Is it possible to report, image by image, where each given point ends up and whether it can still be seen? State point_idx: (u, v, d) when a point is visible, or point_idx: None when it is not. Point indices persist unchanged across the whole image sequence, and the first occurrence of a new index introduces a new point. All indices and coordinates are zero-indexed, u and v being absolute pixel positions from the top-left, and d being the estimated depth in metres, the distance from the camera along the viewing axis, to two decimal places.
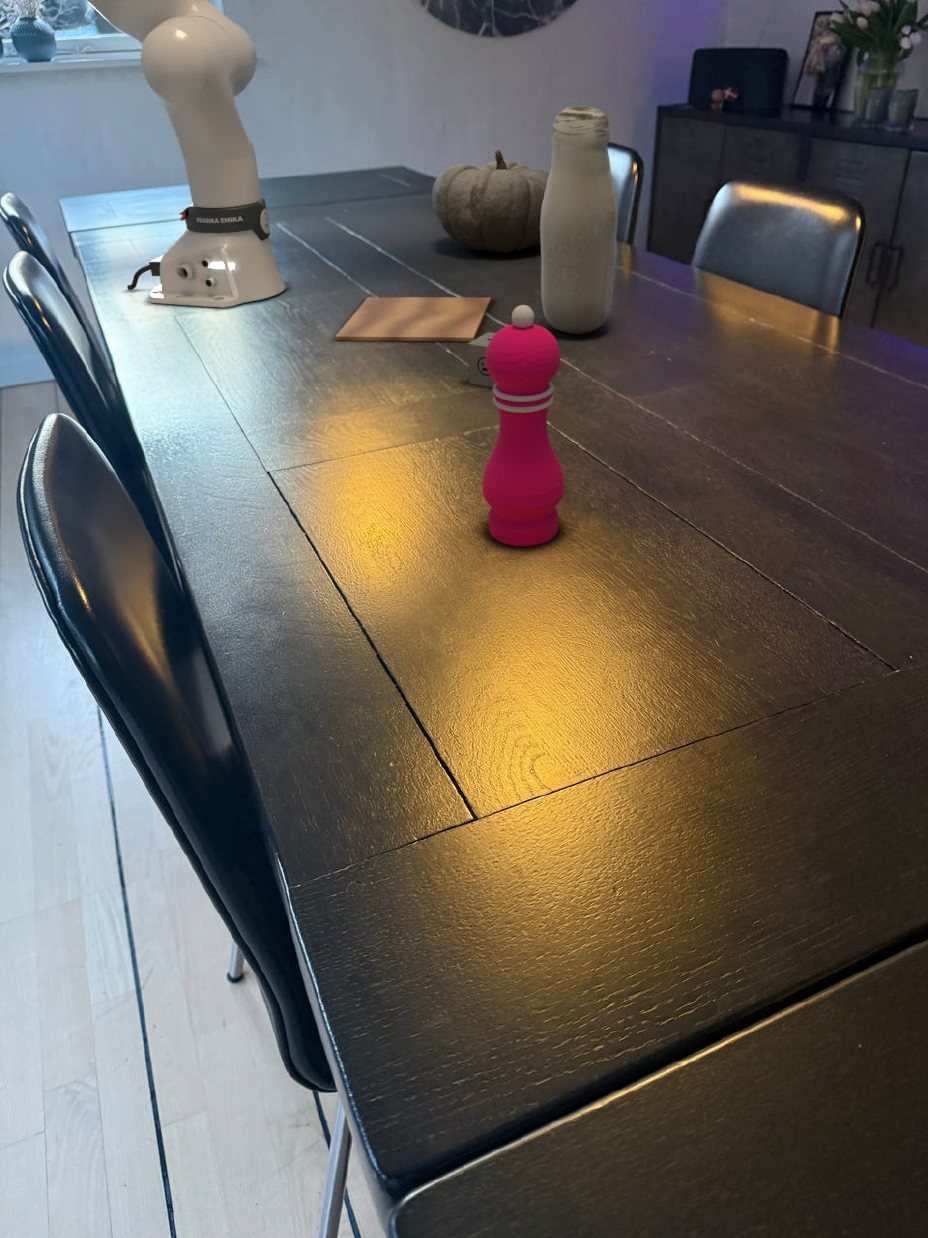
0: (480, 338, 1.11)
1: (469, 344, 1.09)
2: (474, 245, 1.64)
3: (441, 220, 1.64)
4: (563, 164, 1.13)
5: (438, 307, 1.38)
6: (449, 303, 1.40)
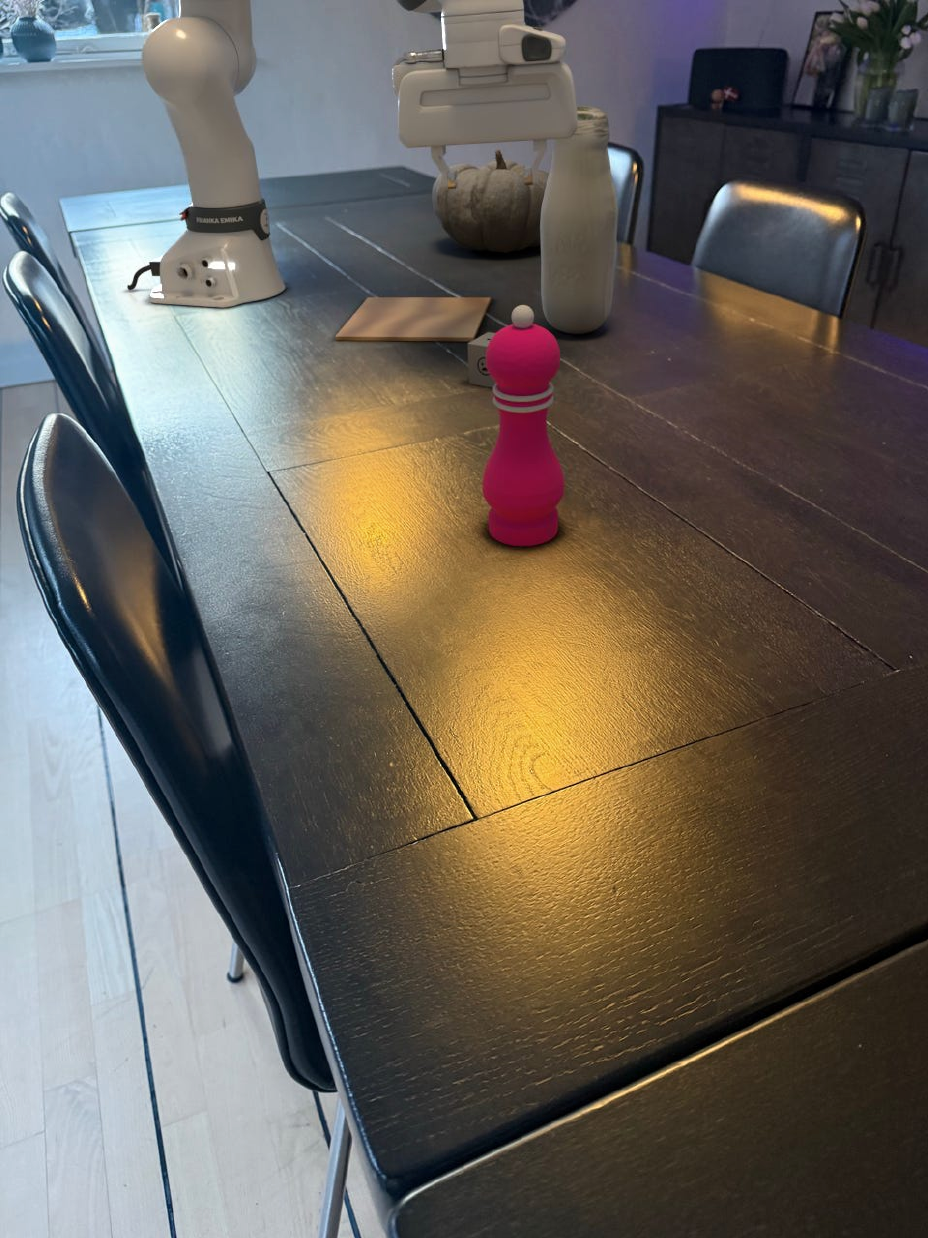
0: (480, 338, 1.11)
1: (469, 344, 1.09)
2: (474, 245, 1.64)
3: (441, 220, 1.64)
4: (563, 164, 1.13)
5: (438, 307, 1.38)
6: (449, 303, 1.40)
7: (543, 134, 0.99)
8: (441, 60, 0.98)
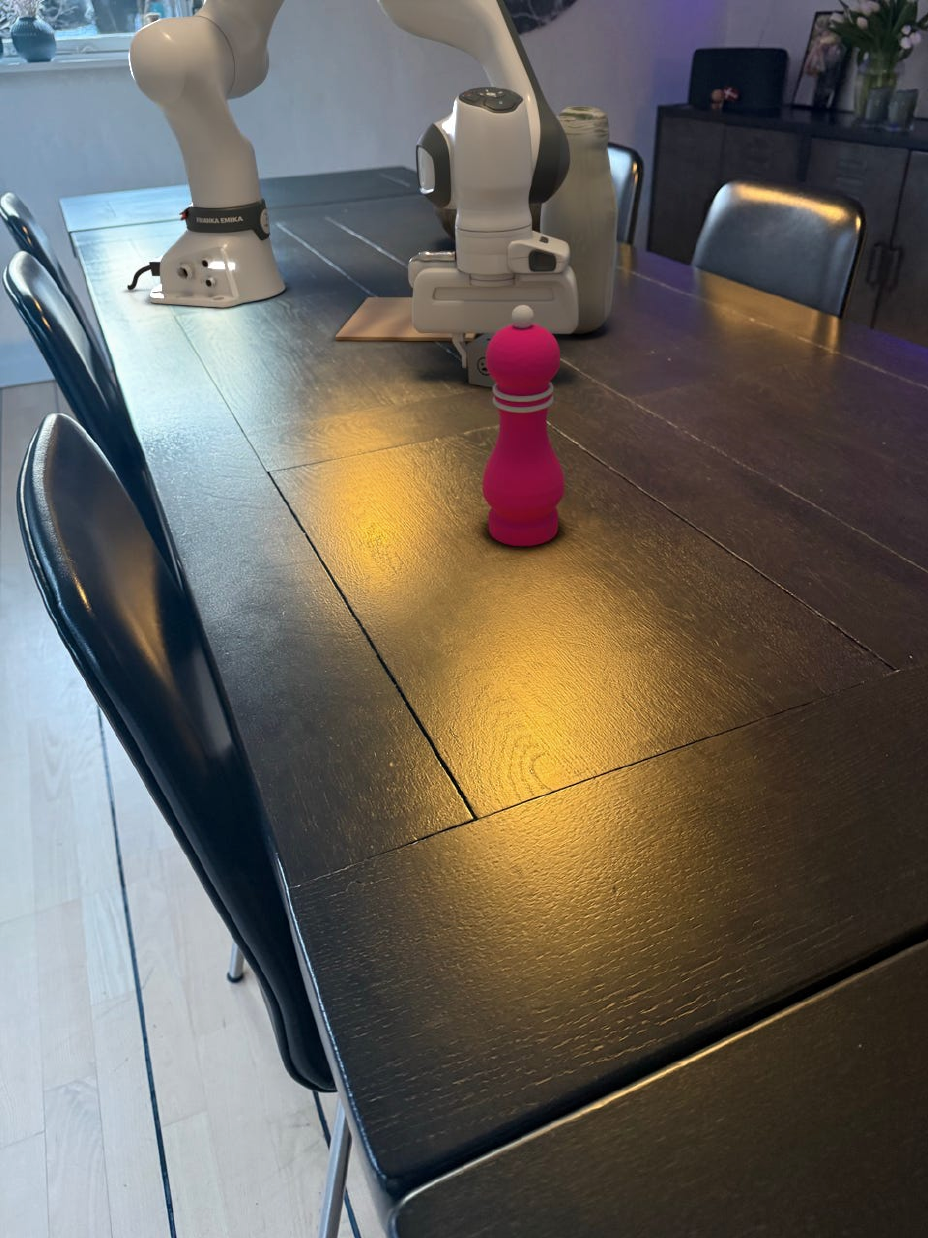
0: (480, 338, 1.11)
1: (469, 344, 1.09)
2: None
3: (441, 220, 1.64)
4: None
5: None
6: None
7: None
8: (454, 260, 1.05)
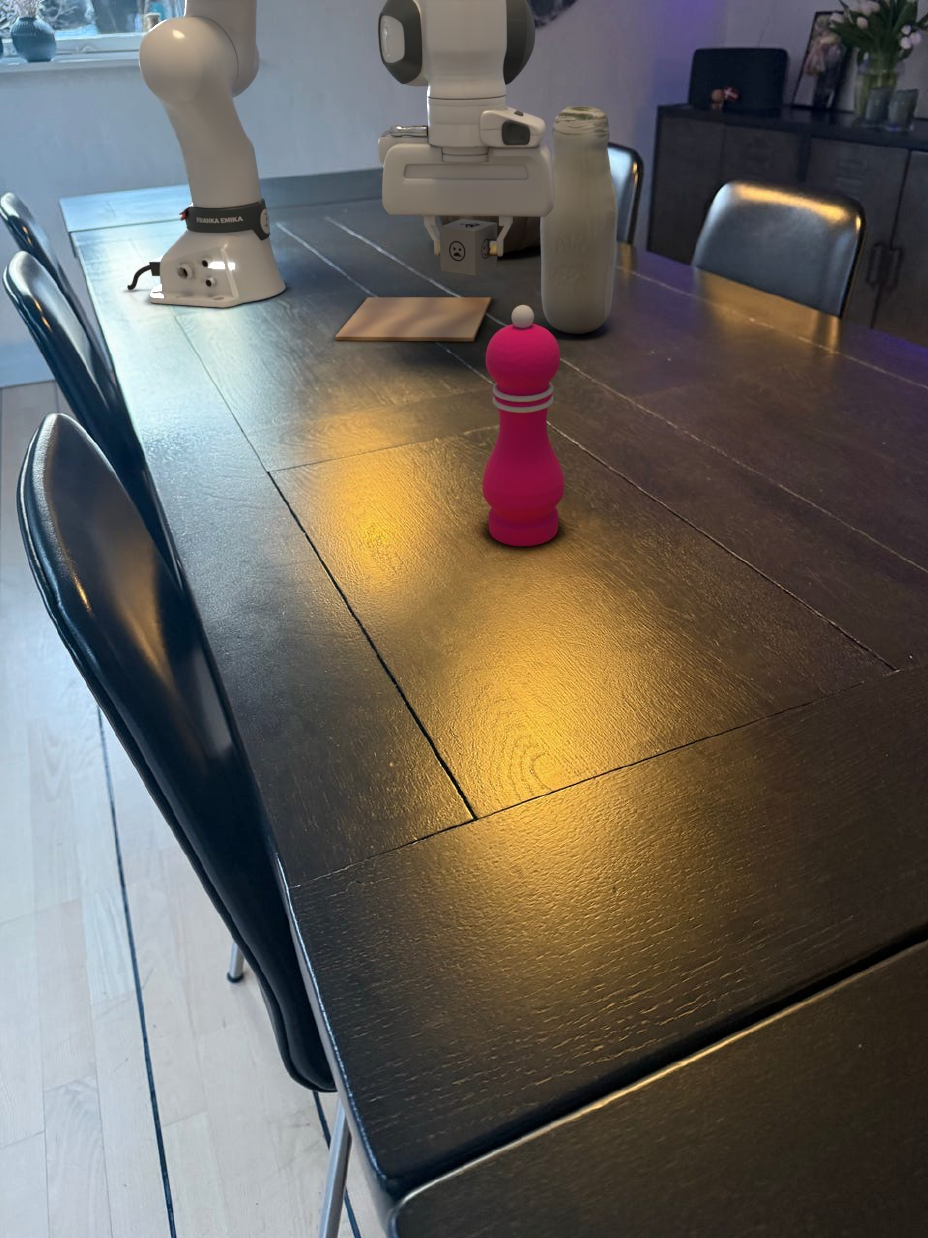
0: (453, 223, 1.07)
1: (441, 227, 1.06)
2: None
3: (441, 220, 1.64)
4: (563, 164, 1.13)
5: (438, 307, 1.38)
6: (449, 303, 1.40)
7: (520, 212, 1.03)
8: (426, 136, 1.02)
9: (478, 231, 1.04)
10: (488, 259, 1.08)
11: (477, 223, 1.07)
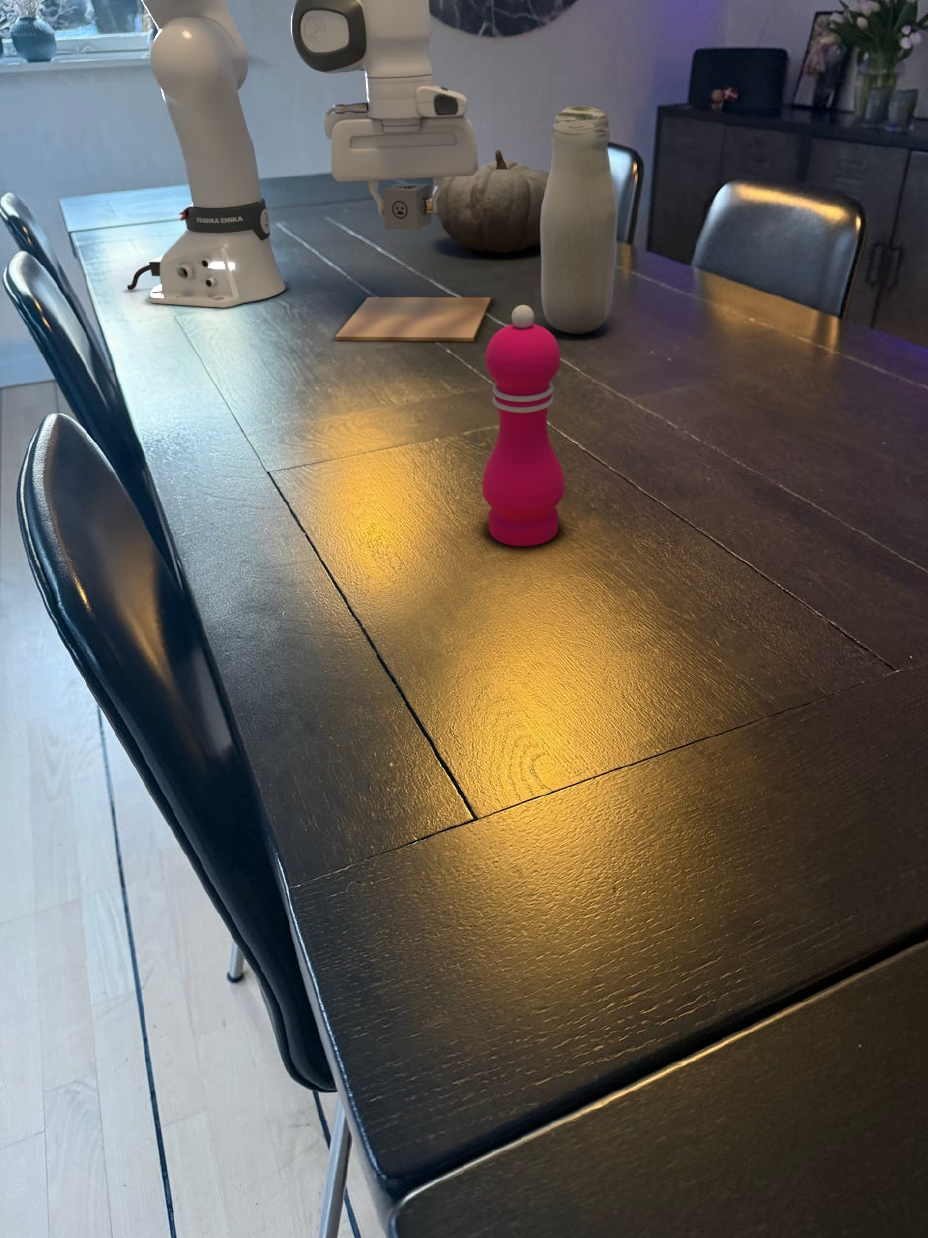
0: (392, 186, 1.25)
1: (384, 190, 1.23)
2: (474, 245, 1.64)
3: (441, 220, 1.64)
4: (563, 164, 1.13)
5: (438, 307, 1.38)
6: (449, 303, 1.40)
7: (452, 172, 1.22)
8: (366, 111, 1.19)
9: (417, 191, 1.23)
10: (425, 216, 1.26)
11: (413, 185, 1.25)
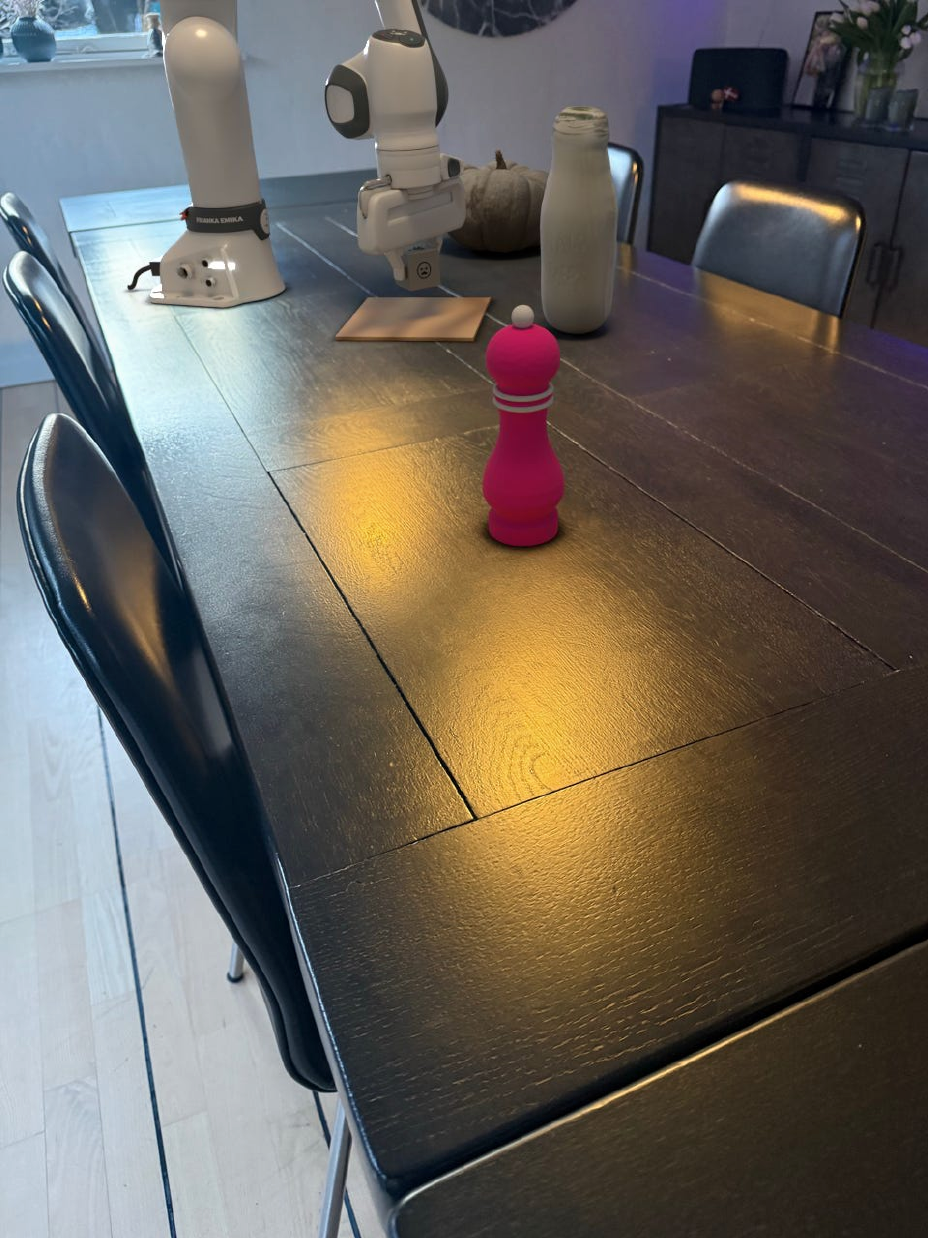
0: None
1: (408, 255, 1.27)
2: (474, 245, 1.64)
3: None
4: (563, 164, 1.13)
5: (438, 307, 1.38)
6: (449, 303, 1.40)
7: (451, 227, 1.32)
8: (389, 183, 1.21)
9: None
10: None
11: (414, 247, 1.31)
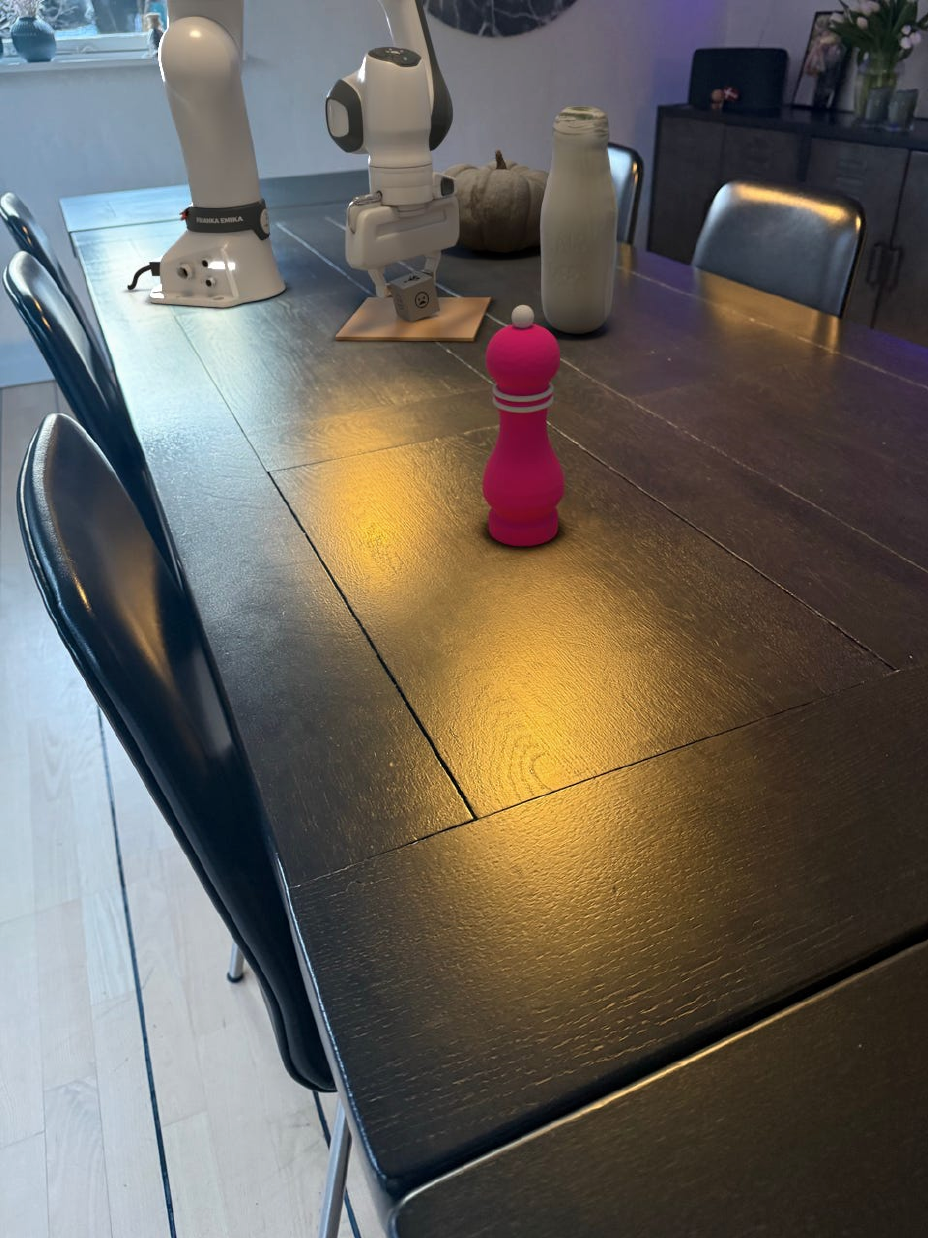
0: (398, 284, 1.31)
1: (404, 288, 1.29)
2: (474, 245, 1.64)
3: None
4: (563, 164, 1.13)
5: None
6: (449, 303, 1.40)
7: (443, 245, 1.32)
8: (379, 200, 1.22)
9: None
10: None
11: (410, 276, 1.33)
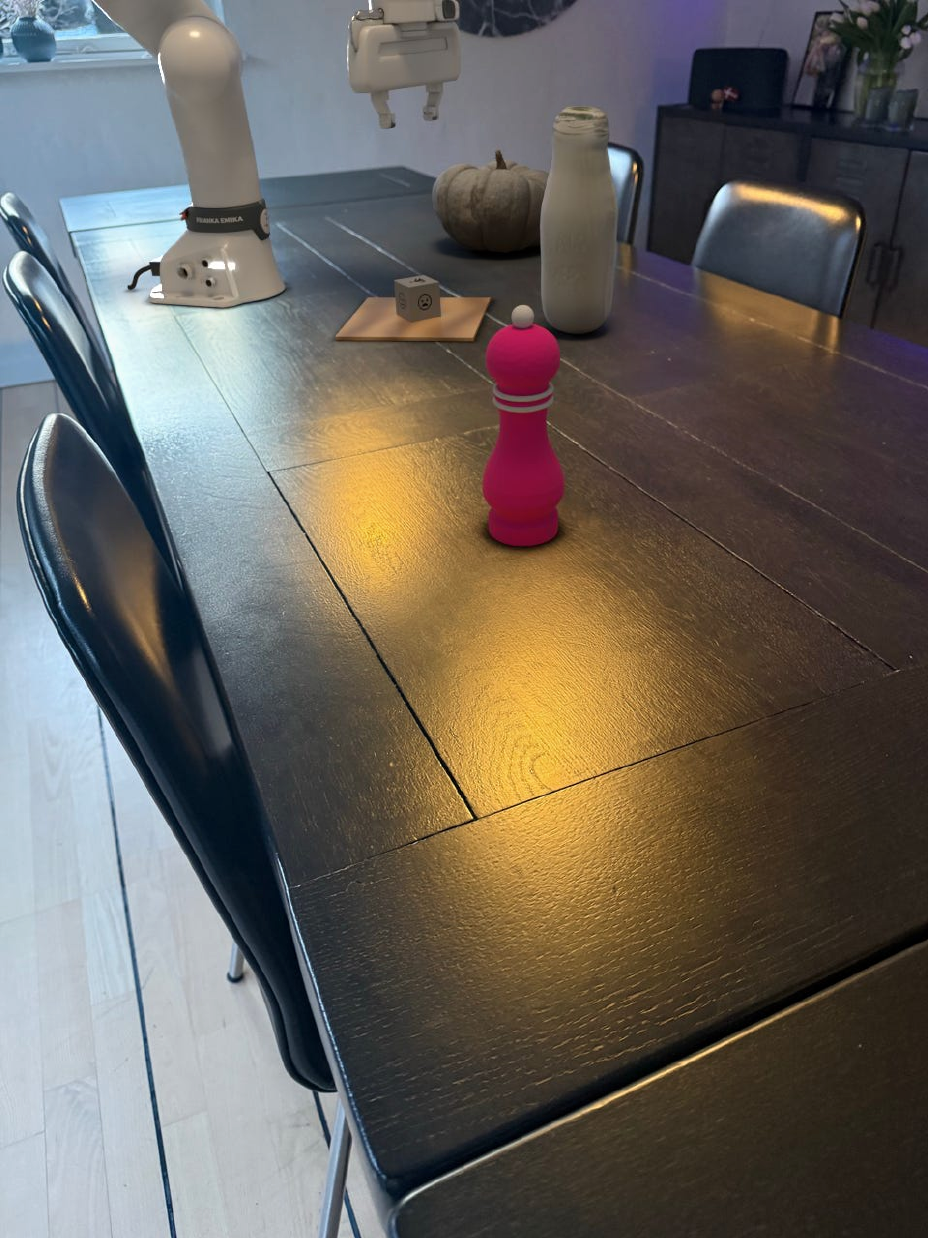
0: (404, 283, 1.31)
1: (410, 287, 1.30)
2: (474, 245, 1.64)
3: (441, 220, 1.64)
4: (563, 164, 1.13)
5: None
6: (449, 303, 1.40)
7: (445, 77, 1.28)
8: (381, 18, 1.18)
9: None
10: None
11: (416, 278, 1.33)
